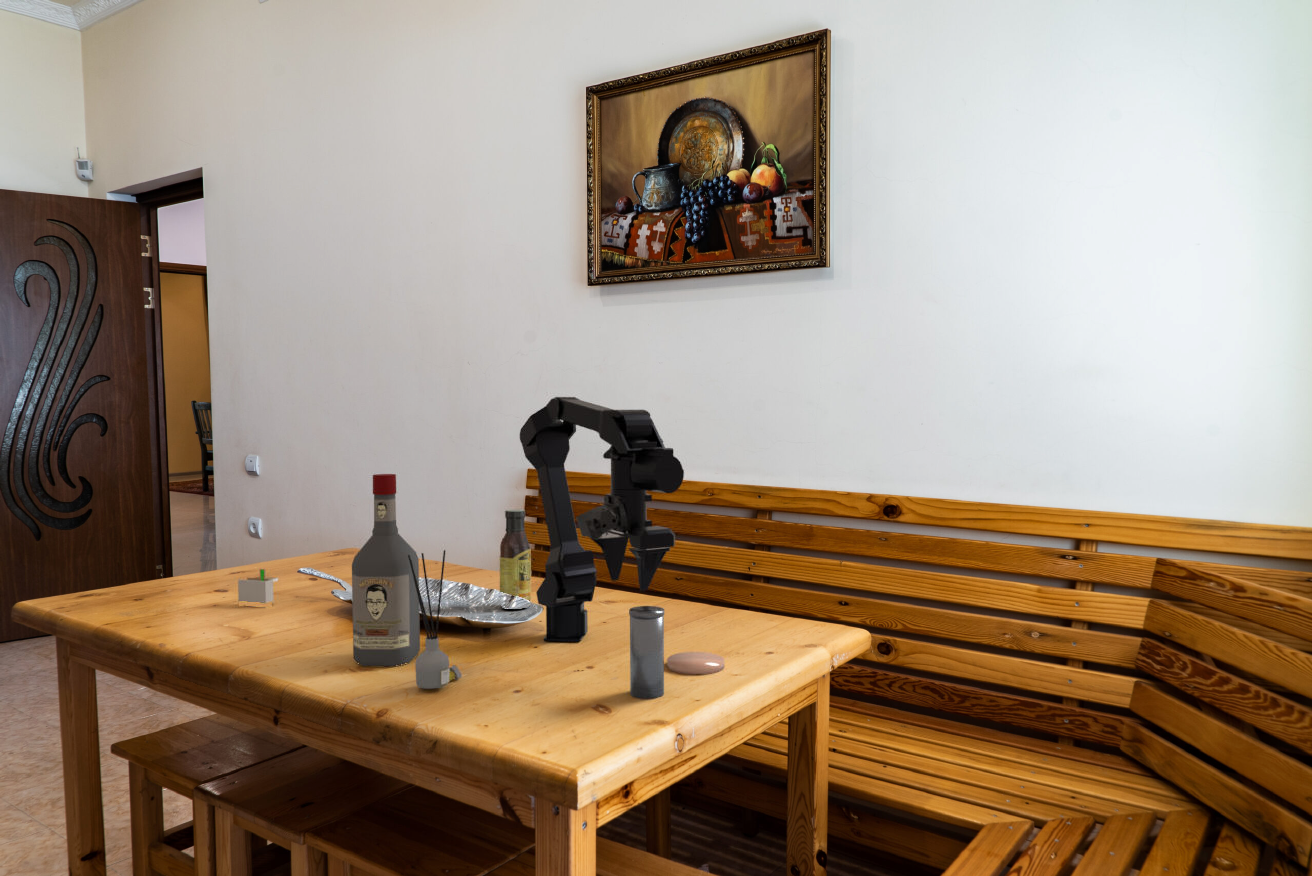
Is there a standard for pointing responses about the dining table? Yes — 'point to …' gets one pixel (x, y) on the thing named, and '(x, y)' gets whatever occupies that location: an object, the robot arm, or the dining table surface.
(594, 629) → the dining table surface
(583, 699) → the dining table surface
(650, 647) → the canister
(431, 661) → the reed diffuser
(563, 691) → the dining table surface
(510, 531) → the sauce bottle
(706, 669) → the soap bar
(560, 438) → the robot arm
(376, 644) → the liquor
